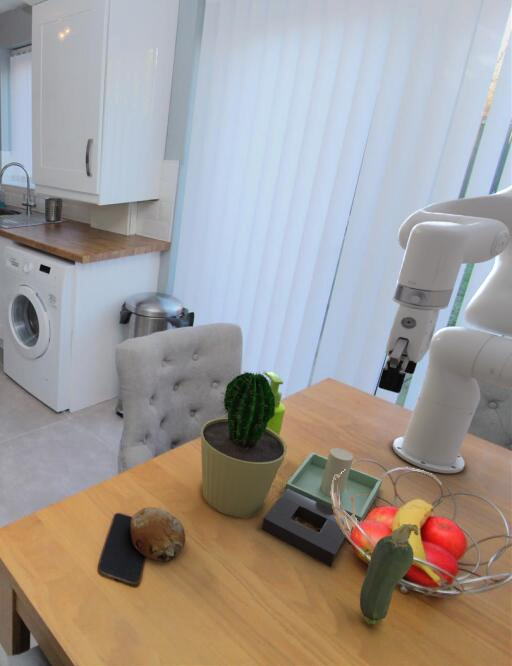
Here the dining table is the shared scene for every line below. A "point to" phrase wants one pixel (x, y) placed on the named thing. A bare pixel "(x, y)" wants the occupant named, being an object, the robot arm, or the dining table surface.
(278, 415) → the soap dispenser
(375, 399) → the dining table surface
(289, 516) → the block
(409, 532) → the vegetable
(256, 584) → the dining table surface
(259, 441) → the potted cactus
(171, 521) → the bread roll
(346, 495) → the green tray
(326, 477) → the plug
